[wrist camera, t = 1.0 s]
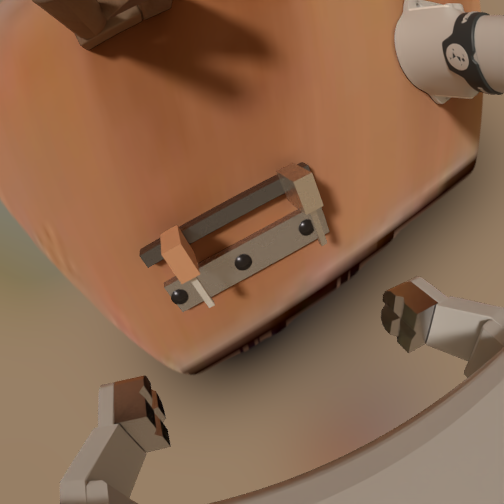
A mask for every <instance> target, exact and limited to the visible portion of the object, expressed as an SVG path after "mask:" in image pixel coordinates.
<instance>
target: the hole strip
mask: <svg viewBox="0 0 504 504" xmlns="http://www.w3.org/2000/svg"><path fill="white" fill-rule="evenodd" d="M316 211H317V214H318V217H319V220H320V223H321V226H322V229H323V232H324V235H325V234H326V233H328V232H330V231H329V228H328V225H327V222H326V219H325V216H324V213H323V210H322V208H321V207H320V208H319V209H317V210H316ZM316 239H317V236H316V233H315V230H314V227H313V225H312V222H311V219H310V217H309V214H308V215H305V214H304V213H303V212H302V211H300V210H299V209H298V210H296V211H294V212H292V213H291V214H289V215H287V216H285V217H283V218H281V219H279V220H278V221H276V222H274V223H272V224H270V225H268V226H266V227H265V228H263V229H261V230H259V231H257V232H255V233H253V234H252V235H250V236H248V237H246V238H244V239H242V240H241V241H239V242H237V243H235V244H233V245H231V246H230V247H228V248H226V249H224V250H222V251H220V252H219V253H217V254H215V255H213V256H211V257H209V258H208V259H206V260H204V261H202V262H200V263H199V264H198V267H199V271H200V275H198V276H197V277H198V279H199V280H200V282H201V283H202V285H203V286H204V288H205V289H206V291H207V292H208V294H209V295H210V297H212V296H214V295H216V294H218V293H219V292H221V291H223V290H225V289H227V288H229V287H230V286H232V285H234V284H236V283H238V282H240V281H241V280H243V279H245V278H247V277H249V276H251V275H252V274H254V273H256V272H258V271H260V270H262V269H263V268H265V267H267V266H269V265H271V264H273V263H274V262H276V261H278V260H280V259H282V258H283V257H285V256H287V255H289V254H291V253H292V252H294V251H296V250H298V249H300V248H301V247H303V246H305V245H307V244H309V243H310V242H312V241H314V240H316ZM164 288H165V289H166V291H167V292H168V293H169V295H170V296H171V299H172V301H173V302H174V303H175V304H177V305H178V306H179V308H180V309H181V310H182V312H184V311H186V310H188V309H190V308H191V307H193V306H195V305H197V304H199V303H201V302H203V301H204V300H203V298H202V297H201V296H200V294H199V293H198V291H197V290H196V288H195V287H194V286H193V284H192V283H191V281H190V280H189V281H187V282H186V283H184V284H181V282H180V281H179V280H178V278H177V277H176V276H175V277H173V278H171V279H170V280H168V281H166V282H164Z"/></svg>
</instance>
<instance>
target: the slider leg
mask: <svg viewBox="0 0 504 504" xmlns="http://www.w3.org/2000/svg"><path fill="white" fill-rule="evenodd" d="M160 241H161V255H162V256H163V258H164V259H165V261H166V262H167V264H168V265H169V267H170V268H171V270H172V271H173V272H174V274H175V275H176V277H177V278H178V280H179V281H180V282H181V284H184V283H186V282H187V281H189V280H190V281H191V283H192V284H193V286H194V287H195V288H196V290H197V291H198V293H199V294H200V296H201V297H202V298H203V300H204V301H205V303H206V304H207V306H208V307H209V308H210V307H212V306H214V305H215V304H214V301H213V300H212V298H211V297H210V295H209V294H208V292H207V291H206V289H205V288H204V286H203V285H202V283H201V282H200V280H199V279H198V277H197V276H198V275H200V271H199V267H198V264H197V260H196V256H195V253H194V251H193V250H192V248H191V246H190V245H189V243H188V241H187V240H186V238H185V237H184V235H183V233H182V232H181V230H180V229H179V227H178V225H176V226H174V227H172V228H170V229H169V230H167V231H165V232H164V233H162V234H160Z"/></svg>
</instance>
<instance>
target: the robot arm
mask: <svg viewBox="0 0 504 504" xmlns="http://www.w3.org/2000/svg"><path fill="white" fill-rule="evenodd" d="M395 49H396V53H397V57H398V60H399V63H400V65H401V67H402V69H403V71H404V73H405V74H406V76H407V77H408V79H409V80H410V81H411V82H412V83H413V84H414V85H415V86H416V87H418V88H419V89H421V90H423V91H425V92H426V93H428V94H429V95H430V96H431V98H432V99H433V100H434V101H435V102H436V103H437V104H444V103H445V102H446V101H448V100H449V99H450V98H451V97H454V98H465V99H473V97H474V96H476V95H477V94H478V93H479V92H483V93H486V94H491V95H494V94H497V95H501V94H503V93H504V15H489V14H487V13H483V12H468V13H466V12H464V9H463V6H462V4H445V5H442V4H438V3H433V2H429V1H424V0H405V1H404V8H403V14H402V16H401V17H400V19H399V21H398V23H397V25H396V29H395ZM383 302H384V303H385V306H384V307H383V309H382V311H381V320H382V324H383V326H384V328H385V330H386V331H387V332H388V333H389V334H390V335H394V336H397V342H398V343H399V344H400V345H401V346H402V347H403V348H404V349H405V350H406V351H407V352H408V353H410V352H412V351H414V350H415V349H417V348H419V347H421V346H422V345H424V344H426V345H428V346H431V347H433V348H435V349H438V350H441V351H443V352H446V353H448V354H451V355H453V356H456V357H458V358H461V359H464V360H466V361H468V364H467V366H466V368H465V370H464V374H465V376H466V377H467V379H466V380H464V381H463V382H462V383H461V384H459V385H458V386H457V387H455V388H454V389H453V390H452V391H450V392H449V393H447V394H446V395H444V396H443V397H442V398H440V399H439V400H438V401H436V402H435V403H433V404H432V405H430V406H429V407H428V408H426V409H424V410H423V411H421V412H420V413H418V414H417V415H416V416H414V417H412V418H411V419H409V420H407V421H406V422H404V423H403V424H401V425H399V426H398V427H396V428H394V429H393V430H391V431H389V432H387V433H386V434H384V435H382V436H380V437H379V438H377V439H375V440H374V441H372V442H370V443H368V444H366V445H364V446H362V447H360V448H358V449H356V450H354V451H352V452H350V453H348V454H346V455H344V456H342V457H340V458H338V459H336V460H333V461H331V462H329V463H327V464H325V465H322V466H320V467H318V468H316V469H313V470H311V471H308V472H306V473H303V474H301V475H298V476H296V477H293V478H291V479H288V480H285V481H283V482H280V483H277V484H274V485H271V486H268V487H265V488H262V489H259V490H256V491H253V492H250V493H246V494H243V495H239V496H236V497H232V498H229V499H225V500H221V501H217V502H213V503H209V504H504V308H503V307H499V306H494V305H490V304H485V303H481V302H476V301H472V300H467V299H462V298H458V297H453V296H450V297H447V296H446V295H444V294H443V293H442V292H441V291H439V290H438V289H437V288H435V287H434V286H433V285H431V284H430V283H429V282H427V281H426V280H425V279H423V278H422V277H419V276H416V277H414V278H412V279H410V280H408V281H406V282H404V283H402V284H400V285H397V286H395V287H393V288H391V289H389V290H387V291H385V293H384V294H383ZM165 419H166V417H165V412H164V408H163V405H162V402H161V400H160V398H159V396H158V394H157V392H156V391H153V390H152V389H151V383H150V381H149V380H148V378H147V377H146V376H140V377H136V378H131V379H126V380H122V381H117V382H114V383H109V384H104V385H101V386H100V388H99V405H98V427H97V428H94V429H93V430H92V432H91V434H90V435H89V437H88V438H87V440H86V441H85V443H84V445H83V446H82V448H81V449H80V451H79V452H78V454H77V455H76V457H75V459H74V460H73V462H72V463H71V465H70V467H69V468H68V470H67V471H66V473H65V475H64V476H63V478H62V480H61V481H60V504H138V503H136V502H134V501H133V500H131V499H130V498H129V497H130V495H131V492H132V490H133V487H134V484H135V482H136V479H137V477H138V474H139V471H140V469H141V467H142V464H143V461H144V459H145V456H146V452H151V451H155V450H159V449H163V448H167V447H170V440H169V434H168V429H167V428H166V427H165V425H164V424H163V422H164V420H165Z"/></svg>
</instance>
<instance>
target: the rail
mask: <svg viewBox="0 0 504 504" xmlns="http://www.w3.org/2000/svg"><path fill="white" fill-rule="evenodd" d="M276 172H277V175H275V176H273V177H271V178H269V179H267V180H265V181H263V182H262V183H260V184H258V185H256V186H254V187H252V188H250V189H248V190H246V191H244V192H242V193H240V194H239V195H237V196H235V197H233V198H231V199H229V200H227V201H225V202H224V203H222V204H220V205H218V206H216V207H214V208H212V209H211V210H209V211H207V212H205V213H203V214H201V215H200V216H198V217H196V218H194V219H192V220H191V221H189V222H187V223H185V224H184V225H182V226H180V227H179V229H180V230H181V232H182V233H183V235H184V237H185V238H186V240H187V241H188V243H189V244H191V243H193V242H195V241H196V240H198V239H200V238H202V237H204V236H205V235H207V234H209V233H211V232H213V231H214V230H216V229H218V228H220V227H222V226H224V225H225V224H227V223H229V222H231V221H233V220H235V219H236V218H238V217H240V216H242V215H244V214H246V213H248V212H250V211H251V210H253V209H255V208H257V207H259V206H261V205H263V204H265V203H266V202H268V201H270V200H272V199H274V198H276V197H278V196H280V195H282V194H284V193H285V194H286V196H287V199H288V201H289V202H290V203H292V204H293V205H294V206H295V207H297V208H298V209H299V210H300V211H302V212H303V213H304V214H305V215H308V214H309V217H310V219H311V222H312V225H313V227H314V230H315V233H316V236H317V239H318V241H319V244H320V245H321V246H323V245H325V244H327V240H326V238H325V235H324V232H323V229H322V226H321V223H320V220H319V217H318V214H317V211H316V210H317V209H319V208H320V207H322V206H324V205H323V202H322V199H321V197H320V194H319V191H318V188H317V185H316V182H315V179H314V177H313V174H312V172H310V169H309V167H308V165H307V164H305V163H303V162H301V163H299V164H297V165H296V164H294V163H291V164H289V165H287V166H285V167H283V168H281V169H279V170H277V171H276ZM140 257H141V259H142V260H143V261H144V263H145V264H146V266H147V267H148V268H149V267H150V266H152V265H154V264H156V263H157V262H159V261H161V260H163V259H164V258H163V256H162V255H161V241H160V238H159V239H157V240H156V241H154V242H152V243H150V244H149V245H147V246H145V247H144V248H142V249H140Z"/></svg>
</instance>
